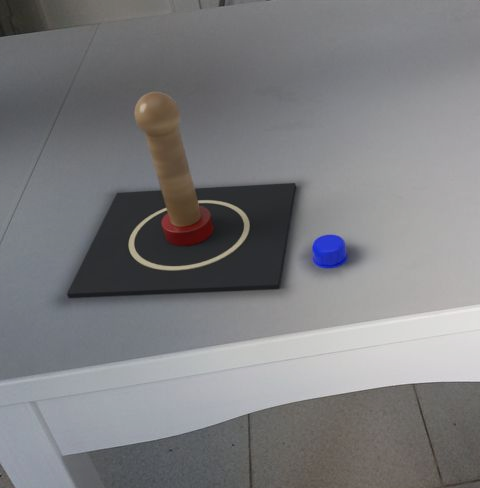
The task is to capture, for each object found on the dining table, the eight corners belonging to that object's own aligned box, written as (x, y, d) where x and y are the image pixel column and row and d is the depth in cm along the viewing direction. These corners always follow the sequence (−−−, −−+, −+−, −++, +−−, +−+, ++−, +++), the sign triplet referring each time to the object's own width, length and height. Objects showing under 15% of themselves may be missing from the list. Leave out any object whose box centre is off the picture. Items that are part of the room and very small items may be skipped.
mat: (68, 299, 61) (65, 292, 61) (118, 197, 73) (116, 191, 72) (279, 290, 60) (278, 283, 59) (296, 187, 71) (295, 181, 71)
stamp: (160, 247, 64) (117, 108, 56) (171, 219, 68) (131, 83, 59) (209, 245, 64) (173, 104, 55) (217, 217, 67) (184, 80, 58)
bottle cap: (307, 265, 62) (304, 249, 61) (322, 246, 64) (320, 229, 63) (339, 272, 61) (337, 255, 60) (353, 252, 63) (351, 235, 62)
